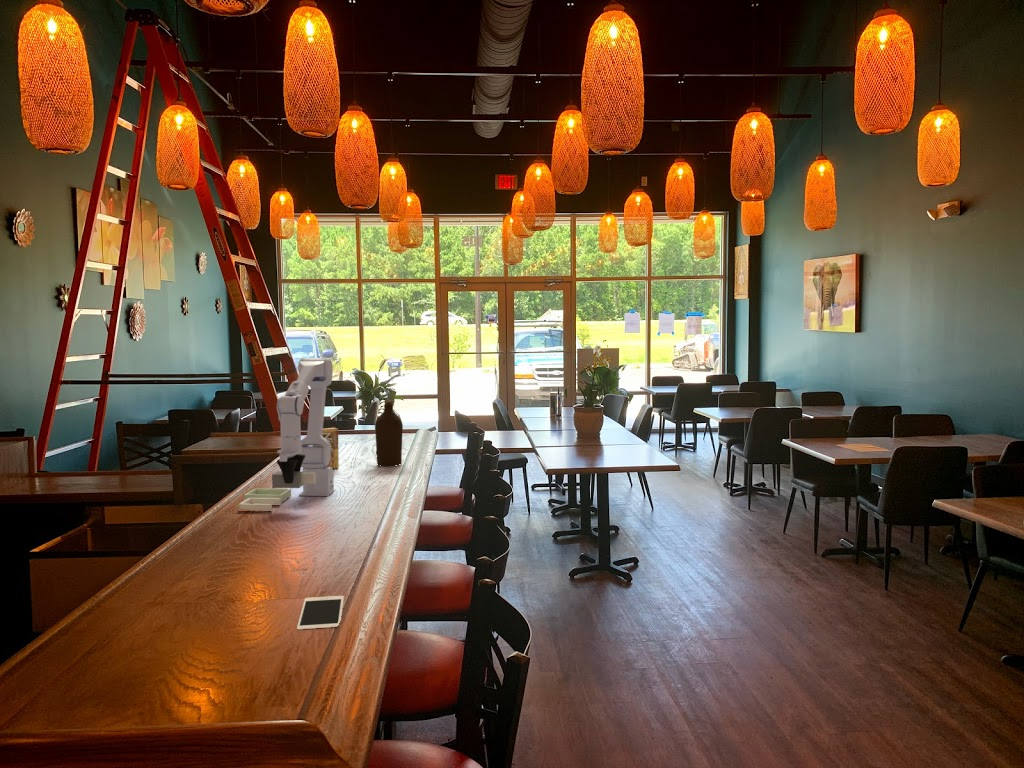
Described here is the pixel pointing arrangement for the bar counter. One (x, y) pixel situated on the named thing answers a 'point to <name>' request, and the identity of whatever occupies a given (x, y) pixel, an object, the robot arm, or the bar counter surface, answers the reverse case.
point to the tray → (268, 493)
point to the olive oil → (388, 437)
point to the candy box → (332, 445)
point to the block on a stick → (297, 479)
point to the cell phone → (321, 612)
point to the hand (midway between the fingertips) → (291, 481)
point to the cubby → (259, 503)
